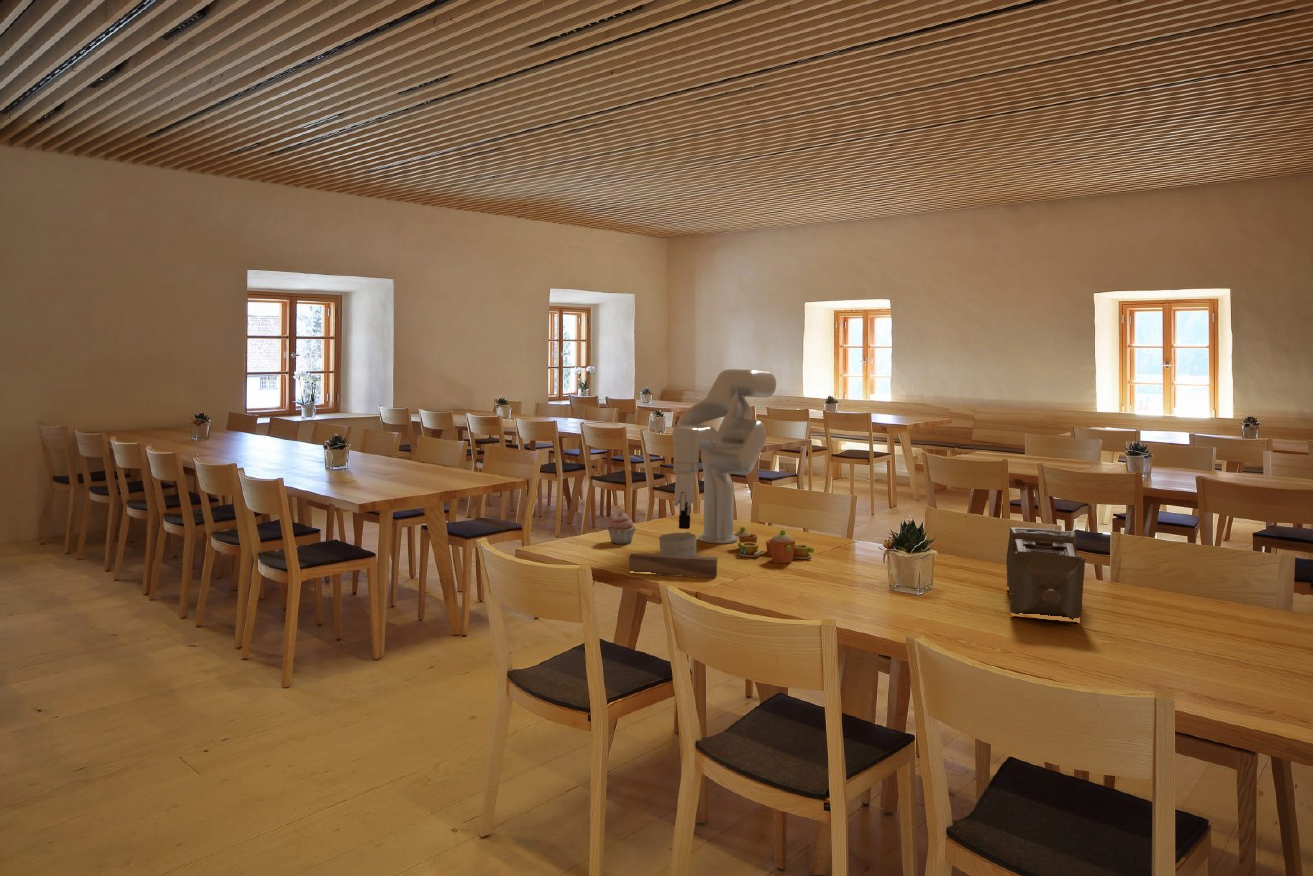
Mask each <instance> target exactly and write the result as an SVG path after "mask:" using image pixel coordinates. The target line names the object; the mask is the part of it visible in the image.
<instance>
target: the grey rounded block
mask: <svg viewBox="0 0 1313 876" xmlns="http://www.w3.org/2000/svg"><path fill="white" fill-rule="evenodd" d="M658 539H659V551H660V552H659V553H660V555H676V556H696V555H697V535H696V534H695V533H691V532H688V531H687V532H686V531H685V532H671V533H665V534H662V535H660V536H658Z"/></svg>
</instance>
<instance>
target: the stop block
mask: <svg viewBox="0 0 1313 876" xmlns="http://www.w3.org/2000/svg"><path fill="white" fill-rule="evenodd" d="M629 571H634V572H651V573H656V574H661V575H660V576H664V575H682V576H681V577H685V576H696V577H695V578H706V577H714V578H713V579H716V578H717V576H718V557H716V556H713V557H712V556H696V555H695V556H676V555H661V554H649V553H630V554H629V555H628V572H629Z"/></svg>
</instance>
